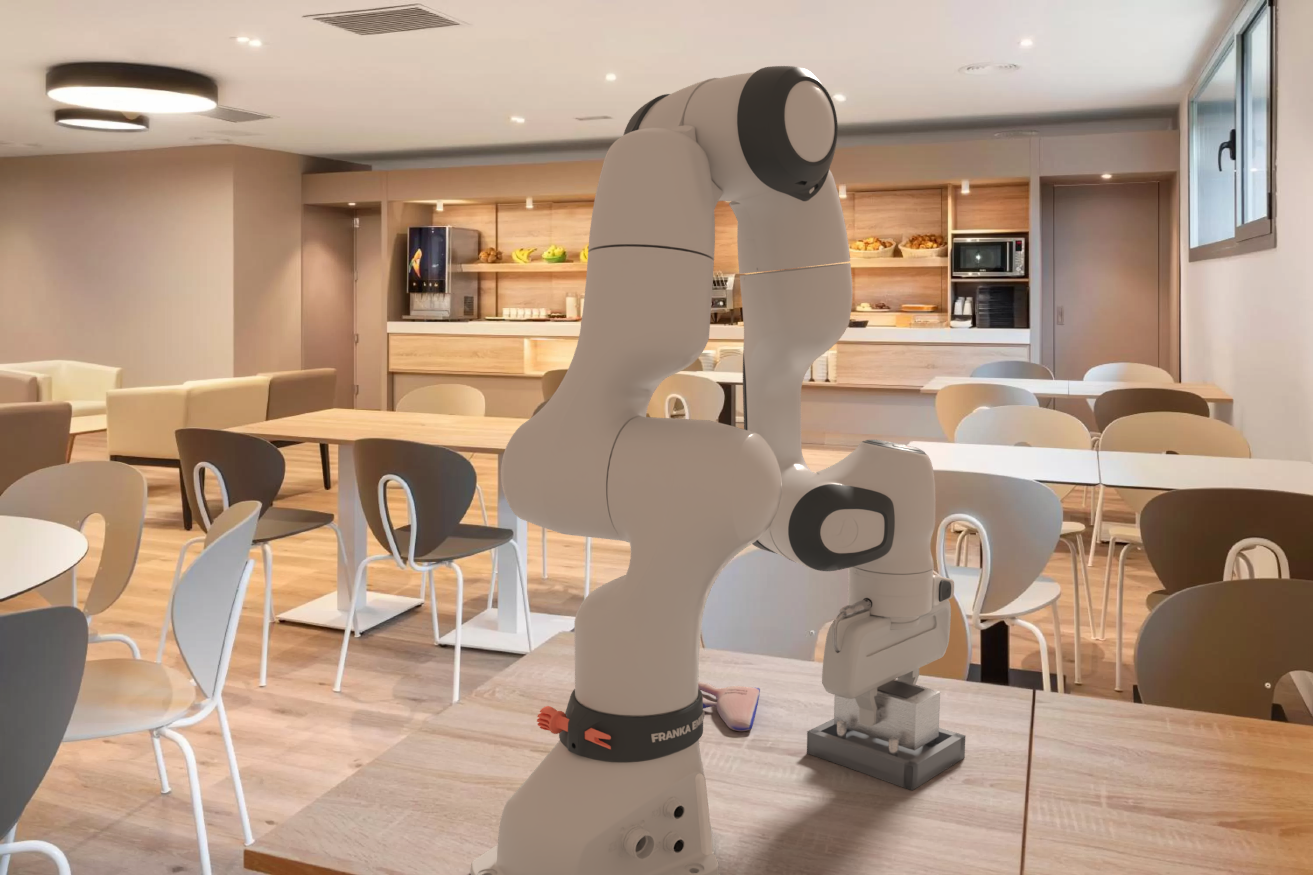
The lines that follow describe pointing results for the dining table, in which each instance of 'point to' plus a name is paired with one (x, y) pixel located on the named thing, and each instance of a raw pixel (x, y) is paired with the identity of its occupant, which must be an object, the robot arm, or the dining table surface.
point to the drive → (897, 714)
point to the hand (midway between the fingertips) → (885, 715)
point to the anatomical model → (733, 704)
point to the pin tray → (885, 753)
